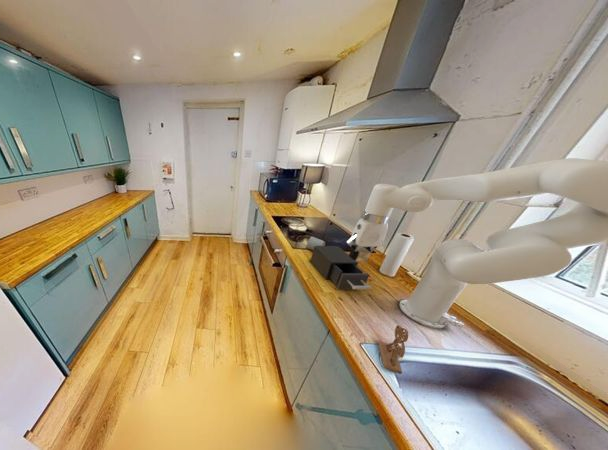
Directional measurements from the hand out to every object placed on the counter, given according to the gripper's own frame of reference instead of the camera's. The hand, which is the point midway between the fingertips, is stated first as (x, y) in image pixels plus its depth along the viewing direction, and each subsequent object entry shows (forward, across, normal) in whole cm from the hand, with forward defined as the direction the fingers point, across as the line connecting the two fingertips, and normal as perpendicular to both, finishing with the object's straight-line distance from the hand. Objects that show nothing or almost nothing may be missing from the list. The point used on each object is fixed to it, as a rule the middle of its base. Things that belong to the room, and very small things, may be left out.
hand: (358, 257), depth 81 cm
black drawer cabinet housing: (+16, +1, +13) cm, 21 cm away
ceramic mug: (+16, +4, +33) cm, 37 cm away
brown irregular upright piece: (+16, -8, -30) cm, 35 cm away
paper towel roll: (+16, +29, +10) cm, 34 cm away
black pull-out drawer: (+15, 0, +2) cm, 15 cm away
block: (0, 0, 0) cm, 0 cm away
